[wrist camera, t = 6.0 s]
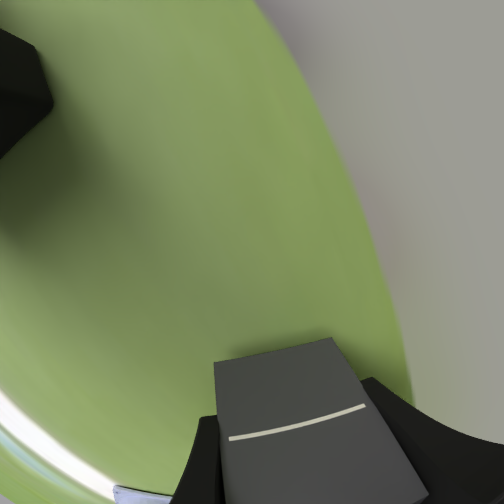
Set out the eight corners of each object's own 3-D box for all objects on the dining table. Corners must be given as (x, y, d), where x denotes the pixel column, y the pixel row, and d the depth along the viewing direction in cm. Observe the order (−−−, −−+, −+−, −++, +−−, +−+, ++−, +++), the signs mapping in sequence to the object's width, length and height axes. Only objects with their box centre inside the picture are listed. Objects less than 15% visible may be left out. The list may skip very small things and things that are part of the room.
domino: (213, 362, 11) (232, 554, 4) (331, 337, 12) (429, 494, 4) (223, 394, 12) (246, 562, 4) (331, 370, 12) (408, 515, 5)
